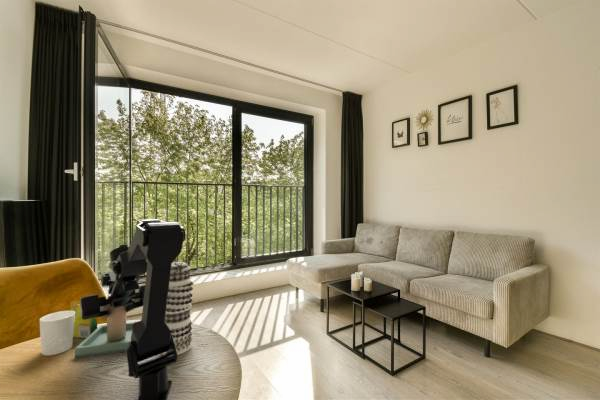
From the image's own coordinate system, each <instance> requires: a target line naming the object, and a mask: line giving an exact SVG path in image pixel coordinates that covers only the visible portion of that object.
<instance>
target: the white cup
mask: <svg viewBox="0 0 600 400" xmlns="http://www.w3.org/2000/svg"><path fill="white" fill-rule="evenodd" d="M74 326H75V311H71V310H61V311H56V312H52V313H49V314H46V315H44V316H42V317H40V318H39V335H40V336H39V337H40V345H41V355H42V356H45V357H46V356H55V355H59V354H61V353H65V352H67V351H68V350H71V349H72V348H73V339H74V337H73V336H74Z"/></svg>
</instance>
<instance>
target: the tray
mask: <svg viewBox="0 0 600 400" xmlns="http://www.w3.org/2000/svg"><path fill="white" fill-rule="evenodd" d="M135 322H136V321H132V322H130V321H129V322H126V336H125V337H123V338H121V339H118V340H113V341H109V340H107V324H102V325H99V326H97V329H96V330H95V331H94V332H93V333H92V334H91V335H89V336H88V337H87V338H84V340H83V341H82V342H80V343H79V344H78V345H77V346H76V347H75V348H74V359H78V358H85V357H94V356H100V355H101V356H103V355H109V354H118V353H126V350H127V347H128V343H129V342H131V335H132V326H133V324H134V323H135Z"/></svg>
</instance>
